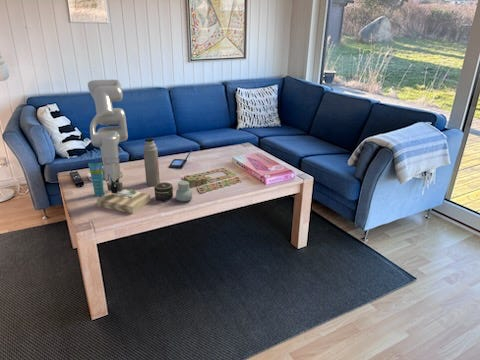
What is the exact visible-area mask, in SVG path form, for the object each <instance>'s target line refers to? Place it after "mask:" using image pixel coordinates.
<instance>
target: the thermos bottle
mask: <svg viewBox="0 0 480 360" xmlns="http://www.w3.org/2000/svg"><path fill="white" fill-rule="evenodd" d="M144 141H145V143H144V145H143V162H144V172H145V183H146V185H147V186H149V187H154V186H155V185H156V184H158V183H161V181H160V180H161V179H160V165H159V155H158V154H159V153H158V147H157V144H156V143H155V139H154V138H153V137H147V138H145V139H144Z"/></svg>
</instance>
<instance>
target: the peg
mask: <svg viewBox="0 0 480 360" xmlns="http://www.w3.org/2000/svg"><path fill="white" fill-rule="evenodd" d="M112 183H114V182H112ZM106 185H107V191H109V192H110V191H111V187H110V185H108V182H107V183H106ZM116 186H117V193H113V194H114V196H117V195H118V194H119V195H134V194H130V193H118V191H120V192H121V191H122V190H123V189H124V188H123V182H120V181H119V182H116Z"/></svg>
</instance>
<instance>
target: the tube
mask: <svg viewBox="0 0 480 360" xmlns="http://www.w3.org/2000/svg"><path fill="white" fill-rule="evenodd" d="M87 166H88V169H89V172H90V176H91V177H90V178H91V182H92V186H93V192H94V196H96V197H102V196H103V195H105V192H104V179H103V176H102V174H103V172H102V168H103V162H87Z"/></svg>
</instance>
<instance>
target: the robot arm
mask: <svg viewBox="0 0 480 360" xmlns="http://www.w3.org/2000/svg"><path fill="white" fill-rule="evenodd" d="M87 89H88V92H89V93H90V95H91V97H92V99H93V101H94V105H95V112H96V115H94V117H93V119H92V120H91V122H90V124H89V134H90V141H91V144H92V146H93V147H96V148H100V153H101V160H102V176H103V180H105V182H107V183H108V185H110V187H111V193H117V186H116V182H120V178H122V177H123V175H124V174H123V172H122V171H121V166H120V155H119V144H120V143H122V142H126V141H127V140H128V137H129V135H128V128H127V127H128V125H127V118H126V112H125V111H124V109H123V108H121V107H113V102H121V101H122V100H123V98H124V95H123V90H122V89H123V88H122V85H121V82H120V80H118V79H94V80H90V81H88V83H87ZM98 125H100V126H105V127H99V128H98V129H96V128H97V126H98ZM114 125H116V126H114ZM117 125H118V126H117ZM96 130H97V131H96ZM112 182H114V183H112Z"/></svg>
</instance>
